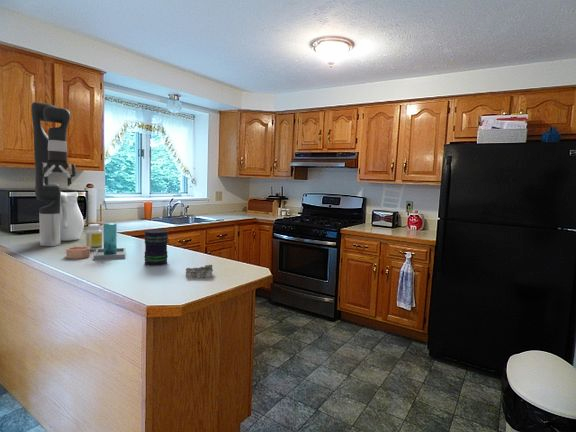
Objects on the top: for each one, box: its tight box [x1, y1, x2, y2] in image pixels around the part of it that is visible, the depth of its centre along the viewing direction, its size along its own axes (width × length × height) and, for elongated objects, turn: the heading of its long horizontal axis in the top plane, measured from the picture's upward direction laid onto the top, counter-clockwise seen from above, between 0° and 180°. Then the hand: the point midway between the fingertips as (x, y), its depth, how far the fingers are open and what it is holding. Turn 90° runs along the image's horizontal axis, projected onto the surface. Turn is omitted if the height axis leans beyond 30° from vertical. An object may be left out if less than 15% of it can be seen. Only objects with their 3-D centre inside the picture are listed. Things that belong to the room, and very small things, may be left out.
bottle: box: [102, 222, 118, 255], centre depth 167 cm, size 6×6×15 cm
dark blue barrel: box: [143, 229, 169, 267], centre depth 156 cm, size 10×10×15 cm
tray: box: [93, 247, 126, 261], centre depth 168 cm, size 16×13×2 cm
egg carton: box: [185, 264, 214, 279], centre depth 140 cm, size 11×8×4 cm
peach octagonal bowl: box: [65, 245, 91, 260], centre depth 163 cm, size 9×9×4 cm
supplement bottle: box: [86, 223, 103, 251], centre depth 181 cm, size 7×7×13 cm
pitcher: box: [60, 191, 85, 242], centre depth 200 cm, size 24×17×28 cm
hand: (58, 185), depth 163 cm, fingers open, 8 cm apart
